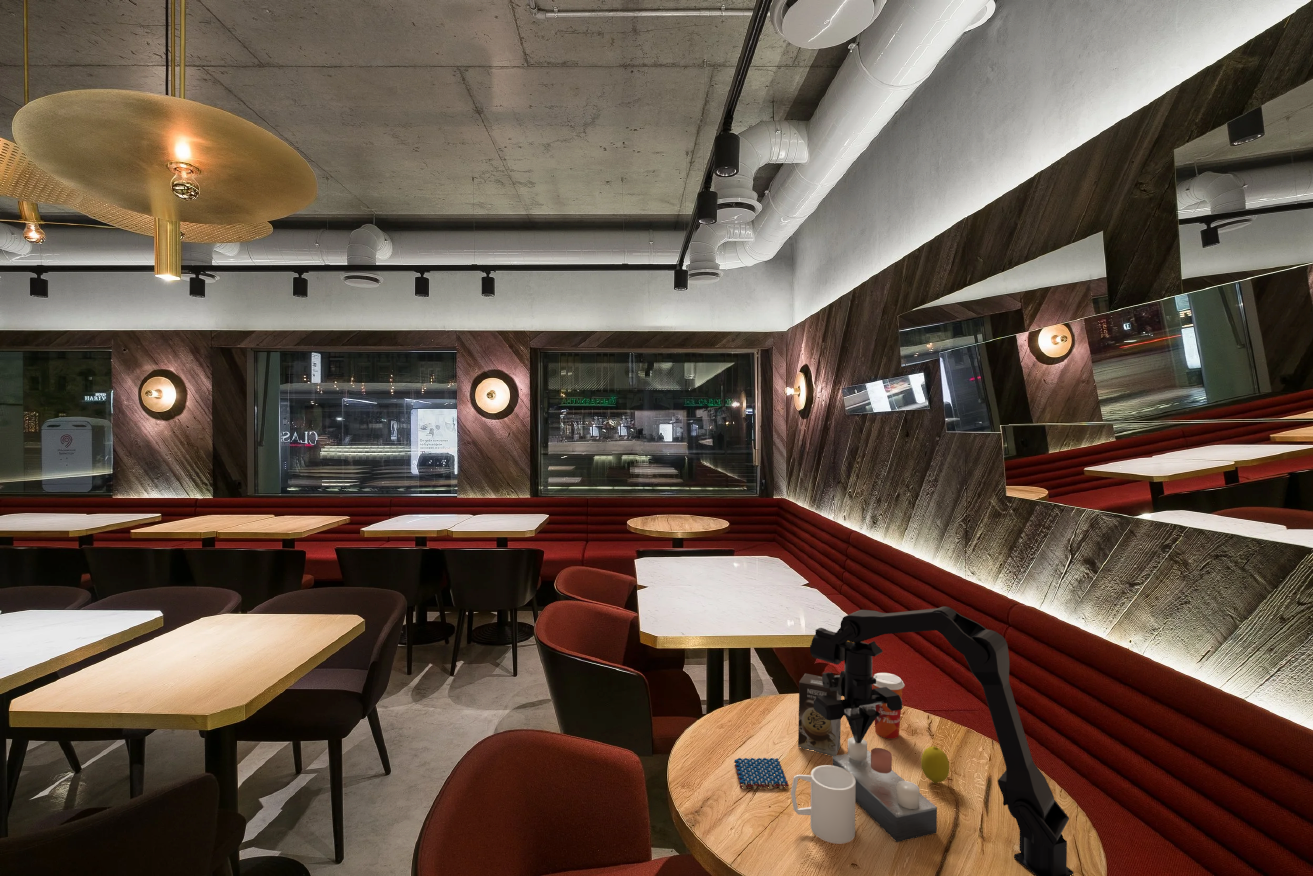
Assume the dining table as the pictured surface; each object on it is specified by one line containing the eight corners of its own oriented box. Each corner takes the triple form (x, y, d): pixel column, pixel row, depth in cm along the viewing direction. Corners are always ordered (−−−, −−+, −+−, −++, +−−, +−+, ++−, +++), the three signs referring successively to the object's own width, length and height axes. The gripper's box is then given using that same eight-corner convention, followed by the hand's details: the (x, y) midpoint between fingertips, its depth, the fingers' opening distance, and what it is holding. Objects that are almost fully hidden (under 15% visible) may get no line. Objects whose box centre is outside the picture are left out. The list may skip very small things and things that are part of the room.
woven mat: (790, 792, 127) (790, 783, 127) (740, 792, 127) (740, 783, 127) (779, 764, 138) (779, 756, 138) (733, 765, 138) (733, 756, 138)
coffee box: (797, 748, 144) (797, 681, 144) (803, 736, 150) (804, 672, 150) (836, 758, 140) (836, 689, 140) (841, 745, 145) (842, 679, 145)
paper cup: (871, 738, 149) (872, 682, 149) (870, 724, 156) (870, 670, 156) (905, 743, 147) (906, 686, 146) (902, 728, 154) (903, 674, 154)
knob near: (924, 807, 114) (924, 791, 114) (906, 810, 112) (906, 794, 112) (909, 794, 117) (909, 779, 117) (892, 798, 116) (892, 782, 116)
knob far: (871, 759, 129) (871, 745, 129) (854, 762, 128) (855, 748, 128) (859, 749, 133) (859, 736, 133) (844, 752, 132) (844, 738, 132)
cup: (788, 812, 120) (788, 763, 120) (849, 816, 119) (850, 766, 119) (793, 840, 112) (793, 787, 112) (859, 845, 111) (860, 791, 110)
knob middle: (896, 771, 121) (896, 756, 121) (879, 774, 120) (879, 759, 120) (883, 761, 125) (883, 746, 125) (866, 764, 124) (866, 749, 124)
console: (936, 833, 114) (936, 807, 114) (896, 842, 111) (896, 815, 111) (867, 772, 134) (868, 750, 134) (832, 779, 132) (832, 756, 131)
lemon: (952, 792, 127) (952, 754, 127) (924, 789, 128) (924, 751, 128) (945, 777, 132) (945, 741, 132) (918, 774, 133) (918, 738, 133)
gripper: (871, 652, 140) (871, 719, 141) (800, 661, 135) (800, 730, 135) (904, 671, 130) (903, 743, 130) (828, 681, 124) (827, 756, 125)
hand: (857, 742), depth 130 cm, fingers closed, pressing on knob far
